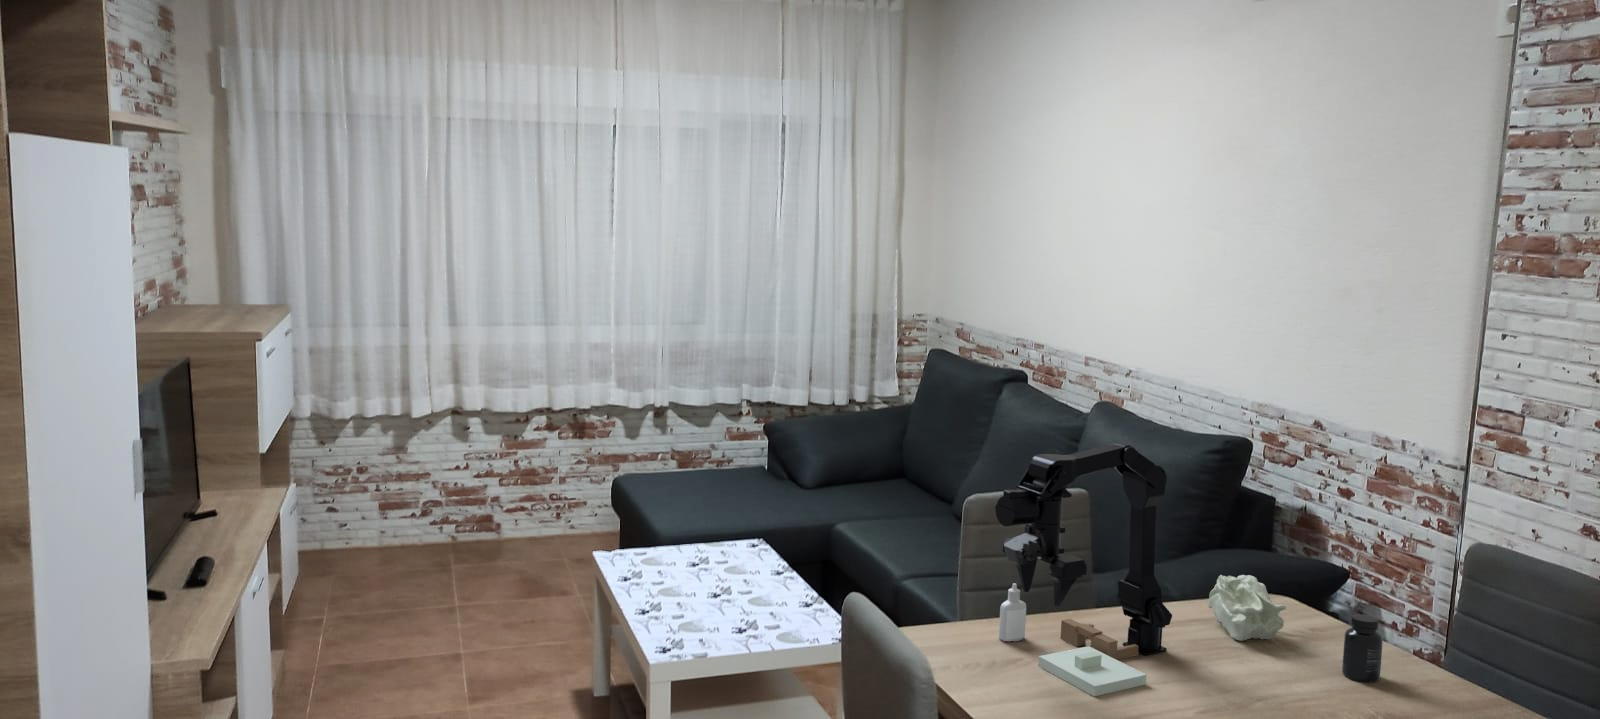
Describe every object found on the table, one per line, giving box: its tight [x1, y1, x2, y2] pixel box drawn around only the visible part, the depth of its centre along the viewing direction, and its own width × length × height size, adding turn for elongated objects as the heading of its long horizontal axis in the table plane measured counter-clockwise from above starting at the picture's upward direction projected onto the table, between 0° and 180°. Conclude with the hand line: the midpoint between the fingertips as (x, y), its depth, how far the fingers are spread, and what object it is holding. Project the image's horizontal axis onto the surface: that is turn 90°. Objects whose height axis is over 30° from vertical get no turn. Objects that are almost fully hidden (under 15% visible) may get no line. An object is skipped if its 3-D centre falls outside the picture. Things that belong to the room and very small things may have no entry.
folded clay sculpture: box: [1208, 574, 1287, 642], centre depth 252 cm, size 18×13×16 cm
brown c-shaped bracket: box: [1059, 618, 1139, 661], centre depth 241 cm, size 8×14×4 cm, turn 29°
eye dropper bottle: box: [998, 582, 1027, 643], centre depth 244 cm, size 4×6×12 cm
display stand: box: [1037, 645, 1147, 697], centre depth 226 cm, size 13×16×4 cm
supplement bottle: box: [1341, 614, 1384, 683], centre depth 229 cm, size 7×7×12 cm
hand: (1041, 598), depth 226 cm, fingers open, 9 cm apart
